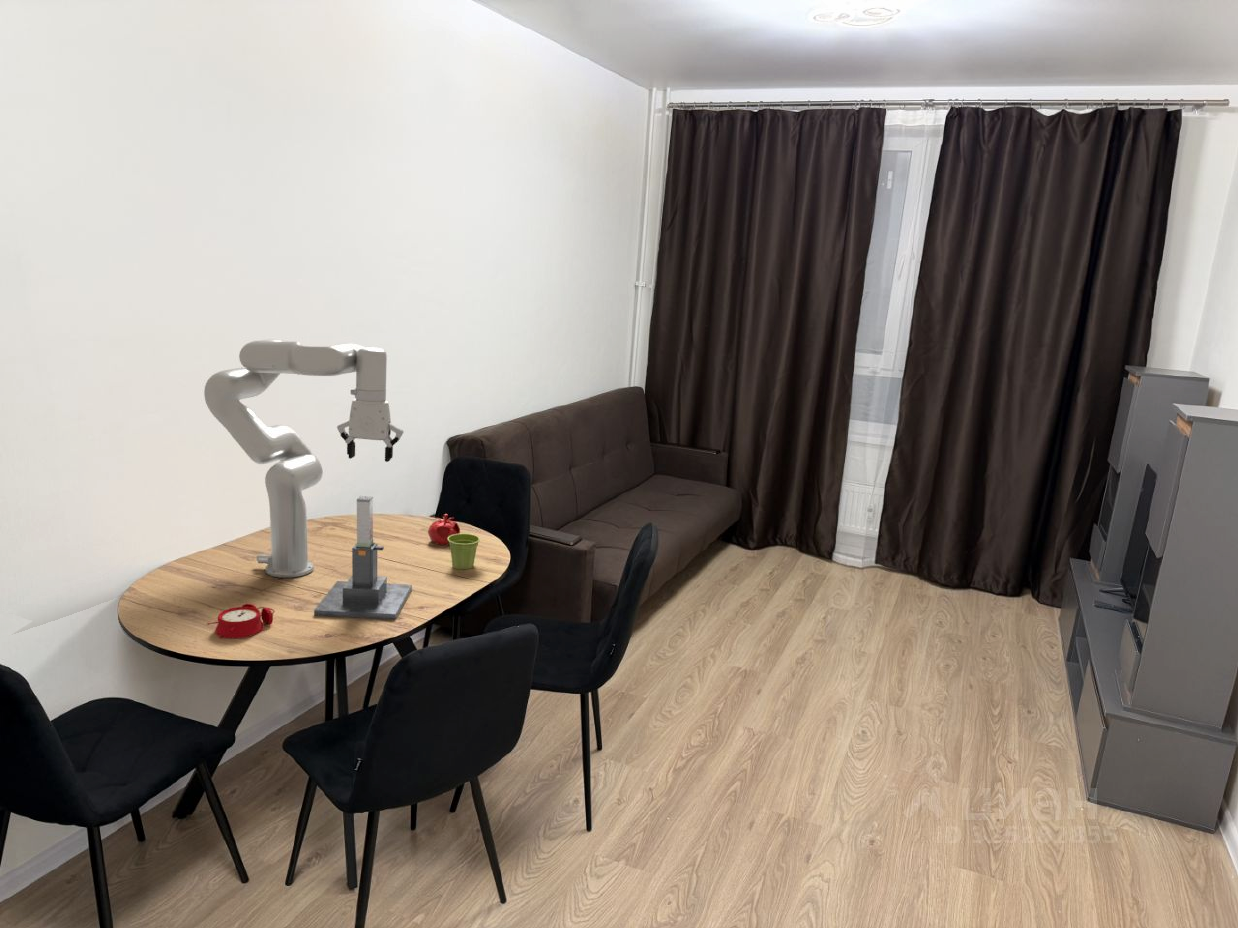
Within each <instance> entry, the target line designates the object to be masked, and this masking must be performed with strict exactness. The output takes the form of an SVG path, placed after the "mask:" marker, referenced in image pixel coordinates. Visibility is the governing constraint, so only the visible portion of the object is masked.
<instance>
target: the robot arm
mask: <svg viewBox="0 0 1238 928" xmlns="http://www.w3.org/2000/svg"><path fill="white" fill-rule="evenodd" d="M238 355H239V356H238V358H239V362H240V364H241V366H242V367H238V368H237V367H236V368H231V369H225V370H221V371H218V372H215V373H214V374H212V375H211V376H209V378H208V379H207V381H206V383H205V386H204V390H203V393H204V396H203V397H204V400H205V404H206V407H207V409H208V410H209V412H210V413H211V415H212V416H213V417H214V418H215V419H216V420H217V421H218V422H219V423H220V424H221V425H222V426H223V427H224V428H225V430H226V431H228V433H229V434H230V435H231V437H232V439H233V440H235V442H236V443H237V445H239V447H240V448H241V449H242V450H243V452H244V453H245V454H246V456H248V457H249V458H250V460H251V461H253V462H254V463H255V464H259V465H266V464H270V463H274V462H276V463H275V464H273V465H271V467H270V468H269V469H268V470H267V472H266V473H265V477H264V484H265V489H266V493H267V498H268V505H269V519H270V521H269V522H270V523H269V525H270V550H271V551H270V553H269V554H264V553H263V554H262V553H258V554H257V556H256V561H257V562H258V563H257V564H266V567H265V573H266V575H269V576H270V577H275V578H282V579H283V578H284V579H285V578H286V579H287V578H288V579H290V578H298V577H303V576H306V575H308V574H310V573H312V572H313V571H314V563H313V562H311V561H309V560H308V557H309V556H308V516H307V514H308V513H307V511H308V510H307V506H306V502H305V499H304V497H303V493H302V491H305V490H307V489H309V488H312V487H314V486H315V485H317V484H318V483H320V481H321V480H322V478H323V474H324V472H323V471H324V470H323V466H322V464H321V462H320V460H319V459H318V457H317V456H316V455H315V454H314V452H313V451H312V450H311V448H309V446H308V445H307V444H306V443H305V442H304V441H303V439H302V437H300V436H299V434H298V433H297V432H296V431H295V430H294V429H292V428H291V427H289V426H287V425H283V424H275V425H271V426H267V425H266V424H265V423H264V422H263V421H262V420H261V418H260V417H259V416H258V415H257V414H256V412H254V410H253V409H251V408H249V407H248V406H247V405H244V404H243V403H242V402H241V401H240V400H245V399H249V398H250V399H251V398H255V397H258V396H259V395H261V394H262V393H264V392H265V391H266V390H267V389H268V388H269V387H270V386H271V385H272V383H274V382H275V381H276V380H277V379H278V377H279V376H280V375H282V374H285V375H287V374H289V375H290V374H291V375H292V374H293V375H297V376H298V375H299V376H301V375H302V376H312V377H317V376H318V377H334V376H335V377H336V376H340V375H345V374H351V373H356V376H355V389H354V388H353V389H350V395H351V396H354V399H352V401H351V406H350V410H349V411H350V413H349V419H348V420H347V421H345V422H344V423H341V424H339V425H337V426H336V428H337V430H338V432H339V434H340V437H341V438H342V439H343V440H344V441H345V444H346V455H348V459H350V460H351V459H353V458H355V456H356V442H355V439H357V440H358V439H359V440H370V441H383V443H385V445H386V447H384V462H385V463H388V462H390V461H391V460H392V459H393V455H394V453H393V452H394V451H393V450H394V445H396V444H397V443H398V442H399V441H400V439H401V437H402V436H403V434H404V430H403V429H401V428H399V427H397V426H396V425H394V424H393V423H392V421H391V412H390V405H389V401H388V400H386V399H387V398H386V397H387V362H388V361H387V360H388V359H387V357H388V355H387V352H386V351H385V350H384V349H383V348H379V347H365V346H362V345H359V344H355V343H344V344H338V345H336V344H335V345H330V346H307V345H304V346H303V344H301V342H298V341H285V340H284V341H281V340H278V339H275V338H273V339H271V338H270V339H261V340H253V341H250V342H248V343H246V344H244V345H243V346H242V348H241V349H240V351H239V354H238ZM346 428H348V432H347V431H346ZM391 431H392V432H394V433H395V437H394V438H393V439H392V437H391ZM277 461H278V462H277Z"/></svg>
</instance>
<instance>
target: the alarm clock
mask: <svg viewBox="0 0 1238 928" xmlns="http://www.w3.org/2000/svg"><path fill="white" fill-rule="evenodd" d="M259 609H261V611H260V610H259ZM272 611H273V612H272ZM274 613H275V610H274V609H273V608H270V607H264V606H263V607H262V606H261V607H257V606H256V604H255V605H254V604H252V603H244V604H243V605H242V606H237V607H231V608H229V609H228V608H227V609H225V610H223V611H221V612H219V614H218V616H217V621H214V622H207V623H206V624H207V626H210V625H212V624H213V625H214V624H217V625H216V627H215V634H216V636H217V635H218V636H219V638H220V639H224V638H226V639H243V638H248V637H251V636H254V635H255V636H256V635H257V634H259V633H260V632H261V631H263V629H264V627H265V625H264V624H266V623H267V624H268V626H271V625H272V623H273V620H274Z"/></svg>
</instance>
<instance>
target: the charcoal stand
mask: <svg viewBox="0 0 1238 928" xmlns="http://www.w3.org/2000/svg"><path fill="white" fill-rule="evenodd" d="M384 547H385V546H383V545H378V542H373V546H372V548H357V547H356V543H355V544H354V545H353V546H352V548H351V552H352V553H351V554H352V556H351V558H352V561H351V562H352V572H351V573H352V575H351V576H350V578H348V580H347V581H346V580H345V581H343V580H337V581H336V582H335V583H334V584H333V585H332V587H331V588H330V589H329V591H328V592H327V593H326V595H324V597H323V599H322V600H320V602H319V604H318V605H317V606H316V607H315V609H313V617H327V618H328V617H332V618H334V617H335V618H350V619H351V618H352V619H355V618H356V619H370V620H371V619H373V620H374V619H375V620H393V619H397V617H399V614H400V612H401V610H402V609H403V606H404V605H405V603H406V601H407V600H408V598H409V596H410V594H411V592H412V590H413V585H412V584H409V583H388V582H387V581H388V579H387V578H388V577H387V576H378V551H383V550H385V549H384Z"/></svg>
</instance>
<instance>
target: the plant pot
mask: <svg viewBox="0 0 1238 928" xmlns="http://www.w3.org/2000/svg"><path fill="white" fill-rule="evenodd" d="M448 541H449V545H448V546H449V547H450V556H451V565H452V567H453V568H454V569H455V570H456V569H457V570H463V569H465V570H470V569H472V568H474V564H475V560H476V559H475V558H476V553H477V548H478V545H479V543H480V541H481V538H480V537H479V536H478V535H476V534H472V533H460V534H454V535H451V536H449V537H448ZM469 568H470V569H469Z"/></svg>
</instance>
